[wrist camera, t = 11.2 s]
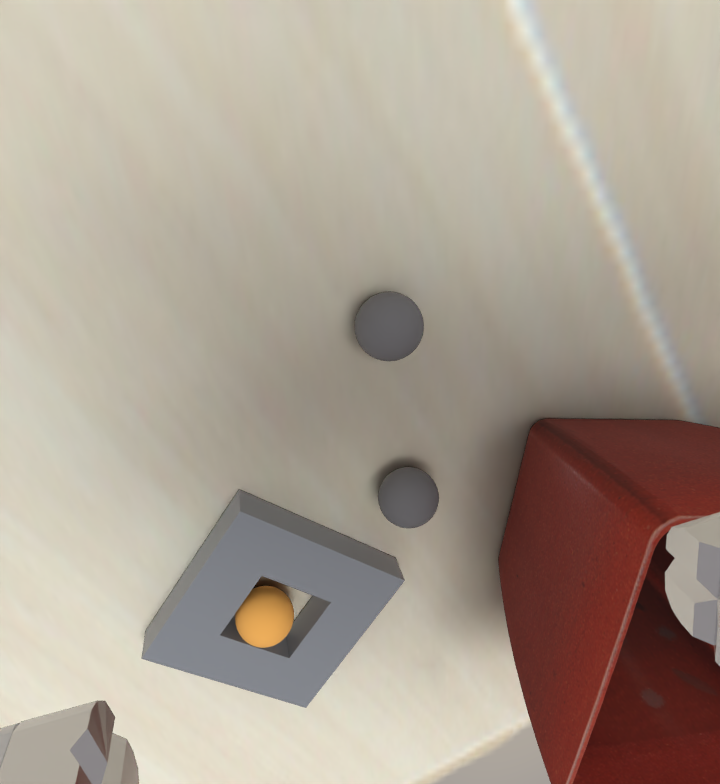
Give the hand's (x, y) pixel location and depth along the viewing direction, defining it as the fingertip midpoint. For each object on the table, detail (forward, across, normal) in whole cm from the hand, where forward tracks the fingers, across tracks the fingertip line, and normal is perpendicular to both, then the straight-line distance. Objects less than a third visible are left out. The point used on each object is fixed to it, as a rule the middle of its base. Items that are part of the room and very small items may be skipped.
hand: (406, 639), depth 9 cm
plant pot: (+29, -19, +23) cm, 42 cm away
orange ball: (+27, +6, +24) cm, 37 cm away
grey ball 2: (+27, -5, +18) cm, 33 cm away
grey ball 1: (+27, -6, +6) cm, 28 cm away
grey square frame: (+29, +6, +24) cm, 38 cm away
